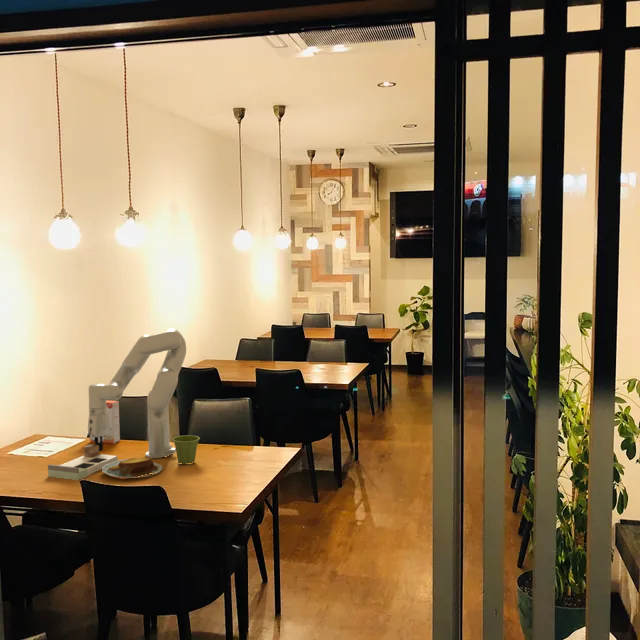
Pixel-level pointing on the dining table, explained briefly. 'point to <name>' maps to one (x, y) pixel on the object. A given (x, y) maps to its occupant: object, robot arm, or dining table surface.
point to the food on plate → (131, 468)
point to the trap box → (80, 467)
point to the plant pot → (186, 448)
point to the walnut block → (91, 450)
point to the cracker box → (112, 422)
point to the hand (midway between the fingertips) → (99, 450)
